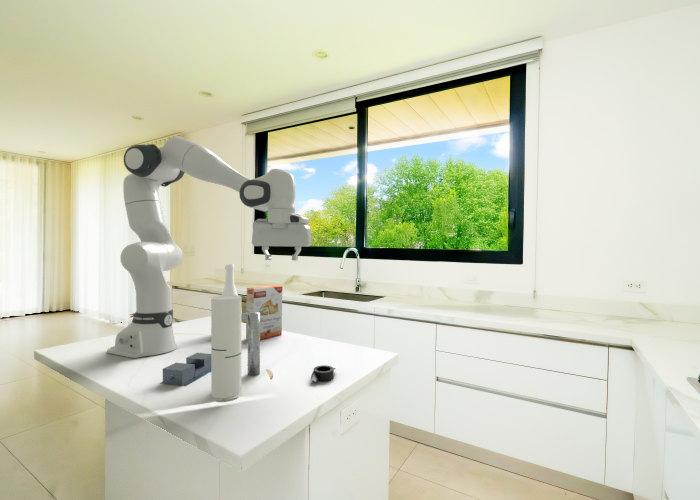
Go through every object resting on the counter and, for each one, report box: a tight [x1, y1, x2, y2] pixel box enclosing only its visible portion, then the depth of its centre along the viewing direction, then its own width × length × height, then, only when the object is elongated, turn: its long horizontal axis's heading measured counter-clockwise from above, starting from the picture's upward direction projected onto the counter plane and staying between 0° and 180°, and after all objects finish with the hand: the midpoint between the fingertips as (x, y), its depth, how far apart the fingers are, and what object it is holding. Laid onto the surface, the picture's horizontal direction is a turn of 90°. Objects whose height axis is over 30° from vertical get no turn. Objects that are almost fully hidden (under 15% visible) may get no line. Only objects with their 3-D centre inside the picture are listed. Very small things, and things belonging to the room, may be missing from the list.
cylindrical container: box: [210, 294, 242, 403], centre depth 88 cm, size 7×7×25 cm
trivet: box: [265, 368, 274, 380], centre depth 100 cm, size 11×11×1 cm
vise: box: [159, 352, 211, 387], centre depth 99 cm, size 14×8×5 cm, turn 167°
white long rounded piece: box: [221, 263, 243, 332], centre depth 147 cm, size 10×10×30 cm
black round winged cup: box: [310, 365, 336, 383], centre depth 100 cm, size 8×10×3 cm
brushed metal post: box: [241, 312, 261, 377], centre depth 99 cm, size 7×3×18 cm, turn 112°
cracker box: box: [245, 284, 283, 340], centre depth 144 cm, size 14×6×21 cm, turn 138°
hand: (281, 260), depth 116 cm, fingers open, 8 cm apart
